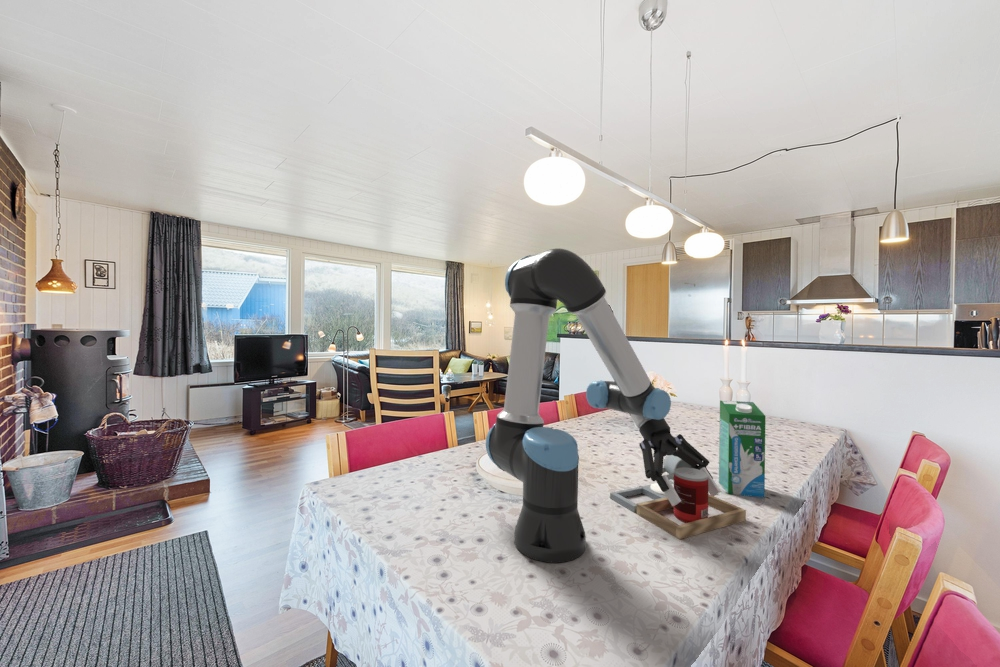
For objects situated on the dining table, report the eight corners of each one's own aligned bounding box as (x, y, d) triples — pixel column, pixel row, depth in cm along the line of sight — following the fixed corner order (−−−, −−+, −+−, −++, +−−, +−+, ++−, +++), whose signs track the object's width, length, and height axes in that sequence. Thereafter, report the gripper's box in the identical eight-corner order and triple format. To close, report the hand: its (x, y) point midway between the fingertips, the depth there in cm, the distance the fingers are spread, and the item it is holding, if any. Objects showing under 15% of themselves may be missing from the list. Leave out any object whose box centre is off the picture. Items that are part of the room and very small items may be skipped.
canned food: (703, 512, 99) (704, 468, 99) (711, 527, 92) (712, 480, 92) (671, 508, 102) (671, 465, 101) (676, 522, 94) (676, 476, 94)
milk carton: (728, 494, 111) (729, 405, 111) (718, 482, 119) (719, 400, 119) (764, 497, 109) (765, 407, 108) (752, 485, 117) (753, 401, 117)
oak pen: (679, 539, 86) (679, 527, 86) (636, 513, 98) (636, 503, 98) (745, 520, 95) (745, 510, 95) (699, 499, 107) (699, 490, 107)
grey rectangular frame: (633, 512, 99) (633, 505, 99) (610, 498, 107) (610, 492, 107) (695, 497, 108) (696, 491, 108) (669, 485, 116) (669, 480, 116)
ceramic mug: (683, 473, 127) (683, 449, 127) (699, 483, 119) (698, 457, 119) (652, 475, 125) (651, 451, 125) (665, 485, 117) (665, 459, 117)
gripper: (675, 426, 116) (721, 496, 103) (608, 435, 106) (649, 514, 93) (691, 412, 112) (741, 483, 98) (622, 419, 101) (668, 501, 88)
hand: (697, 499), depth 95 cm, fingers open, 13 cm apart
